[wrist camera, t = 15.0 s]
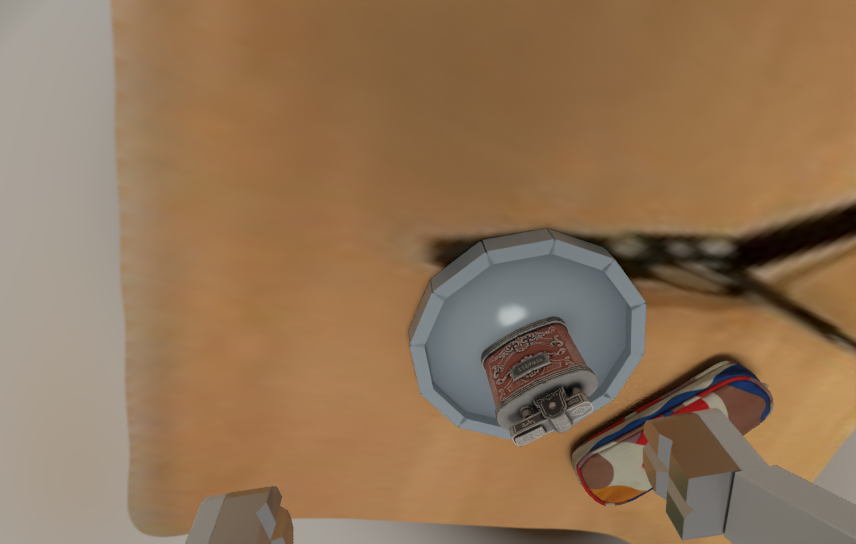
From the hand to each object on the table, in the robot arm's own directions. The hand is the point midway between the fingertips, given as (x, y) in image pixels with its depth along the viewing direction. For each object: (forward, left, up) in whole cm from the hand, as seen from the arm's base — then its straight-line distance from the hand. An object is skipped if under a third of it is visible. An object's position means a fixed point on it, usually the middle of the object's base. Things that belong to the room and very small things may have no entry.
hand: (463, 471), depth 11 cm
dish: (-7, +18, -29) cm, 35 cm away
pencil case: (-20, +31, -30) cm, 47 cm away
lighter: (-7, +18, -28) cm, 34 cm away
